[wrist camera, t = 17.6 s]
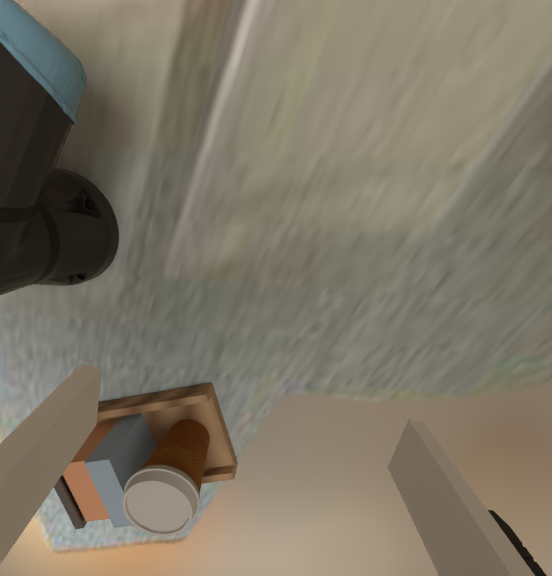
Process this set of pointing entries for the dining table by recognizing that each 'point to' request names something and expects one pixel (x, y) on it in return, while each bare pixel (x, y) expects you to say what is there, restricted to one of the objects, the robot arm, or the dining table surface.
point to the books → (109, 467)
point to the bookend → (70, 503)
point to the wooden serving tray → (173, 408)
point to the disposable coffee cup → (169, 482)
